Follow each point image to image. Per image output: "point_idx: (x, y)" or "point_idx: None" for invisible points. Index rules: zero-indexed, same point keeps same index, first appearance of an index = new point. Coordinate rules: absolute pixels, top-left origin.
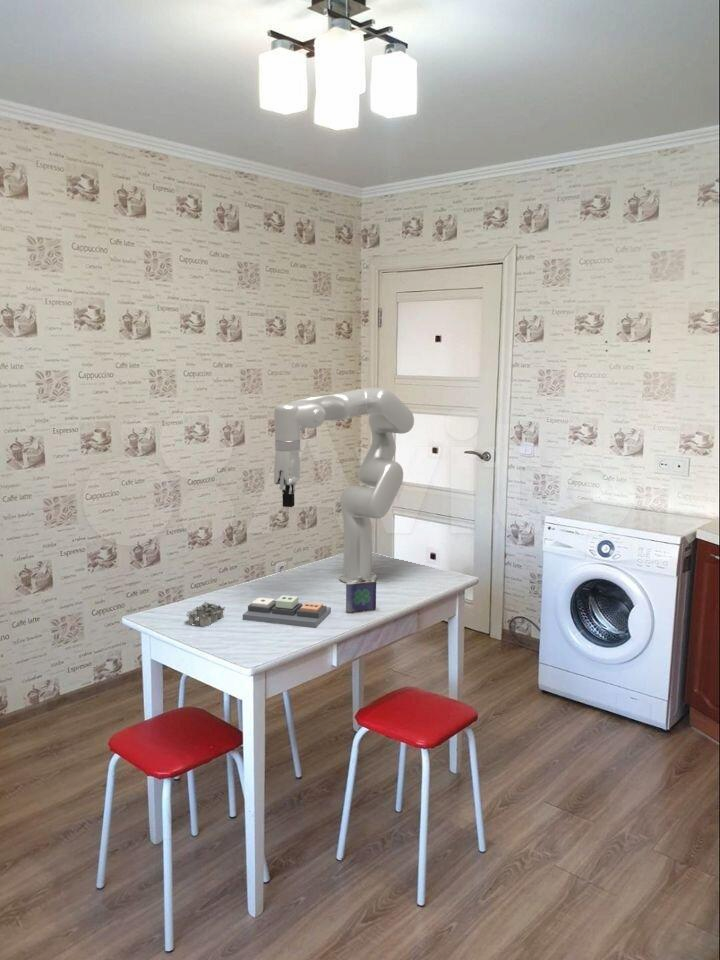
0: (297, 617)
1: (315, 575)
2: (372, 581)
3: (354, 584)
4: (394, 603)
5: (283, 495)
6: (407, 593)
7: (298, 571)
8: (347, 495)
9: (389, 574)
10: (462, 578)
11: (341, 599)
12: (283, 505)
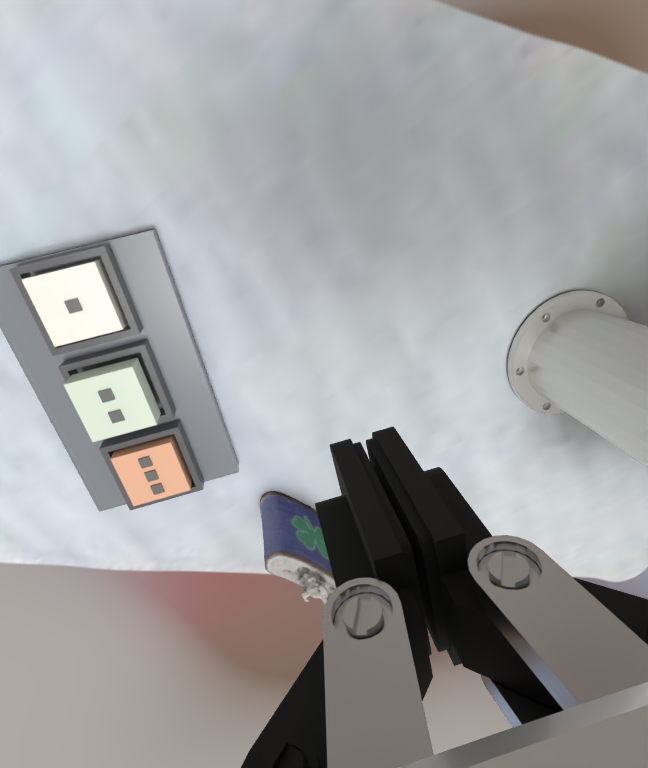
0: (96, 448)
1: (563, 194)
2: None
3: (280, 576)
4: None
5: (367, 551)
6: None
7: (596, 90)
8: None
9: None
10: (638, 562)
11: (358, 422)
12: (332, 456)
